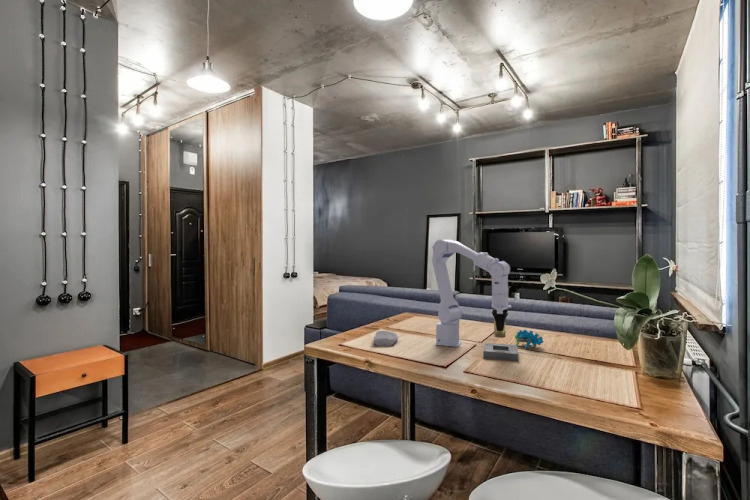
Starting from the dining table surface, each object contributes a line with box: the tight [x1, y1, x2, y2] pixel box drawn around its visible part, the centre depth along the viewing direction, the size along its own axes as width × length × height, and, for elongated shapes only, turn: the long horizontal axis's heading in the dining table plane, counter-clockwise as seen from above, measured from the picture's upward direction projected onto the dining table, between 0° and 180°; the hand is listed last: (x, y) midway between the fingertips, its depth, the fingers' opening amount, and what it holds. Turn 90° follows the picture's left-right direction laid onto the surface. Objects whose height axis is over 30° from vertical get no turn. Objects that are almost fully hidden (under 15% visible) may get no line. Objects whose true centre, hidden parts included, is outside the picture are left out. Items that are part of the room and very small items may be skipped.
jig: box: [482, 342, 519, 362], centre depth 136 cm, size 12×12×2 cm
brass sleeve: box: [493, 318, 506, 339], centre depth 136 cm, size 4×4×7 cm
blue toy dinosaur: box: [514, 329, 544, 350], centre depth 145 cm, size 11×6×10 cm
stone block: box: [373, 330, 399, 347], centre depth 155 cm, size 12×5×10 cm
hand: (500, 329), depth 136 cm, fingers closed on brass sleeve, 4 cm apart
